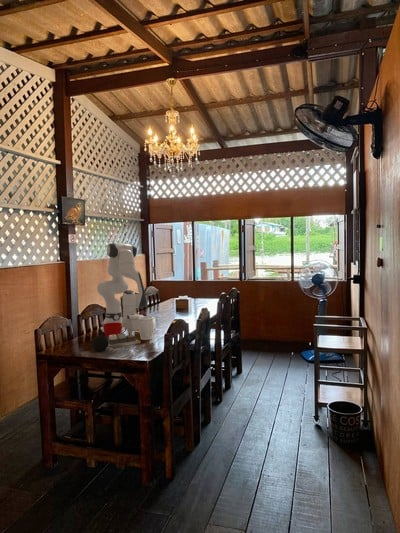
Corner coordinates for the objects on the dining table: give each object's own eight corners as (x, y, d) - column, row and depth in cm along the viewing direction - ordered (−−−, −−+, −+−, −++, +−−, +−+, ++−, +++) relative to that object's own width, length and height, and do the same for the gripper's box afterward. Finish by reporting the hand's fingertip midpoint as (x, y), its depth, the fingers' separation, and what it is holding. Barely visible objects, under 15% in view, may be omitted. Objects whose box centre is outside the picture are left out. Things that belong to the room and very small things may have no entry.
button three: (126, 339, 264) (126, 335, 264) (132, 338, 266) (131, 334, 266) (128, 340, 261) (128, 336, 261) (134, 340, 263) (134, 335, 263)
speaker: (111, 351, 243) (111, 335, 243) (98, 354, 236) (97, 338, 235) (102, 348, 250) (102, 333, 249) (89, 351, 243) (88, 336, 242)
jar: (139, 341, 267) (138, 319, 266) (137, 337, 277) (137, 316, 276) (155, 339, 270) (154, 318, 269) (152, 336, 280) (152, 315, 279)
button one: (109, 339, 258) (109, 335, 258) (115, 338, 260) (114, 334, 260) (111, 341, 255) (111, 336, 254) (117, 340, 257) (117, 335, 256)
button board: (103, 344, 260) (103, 338, 259) (134, 339, 271) (134, 333, 271) (108, 348, 250) (108, 341, 250) (140, 342, 262) (140, 336, 262)
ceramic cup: (123, 340, 269) (122, 326, 268) (100, 340, 272) (99, 325, 272) (130, 336, 282) (129, 322, 281) (108, 335, 285) (107, 322, 284)
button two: (117, 338, 261) (117, 333, 261) (123, 337, 263) (123, 332, 263) (120, 339, 258) (119, 334, 258) (125, 338, 260) (125, 334, 260)
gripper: (119, 313, 270) (120, 333, 271) (130, 317, 253) (131, 338, 253) (128, 312, 273) (129, 331, 274) (139, 316, 256) (140, 337, 257)
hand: (130, 335), depth 264 cm, fingers closed, pressing on button three
